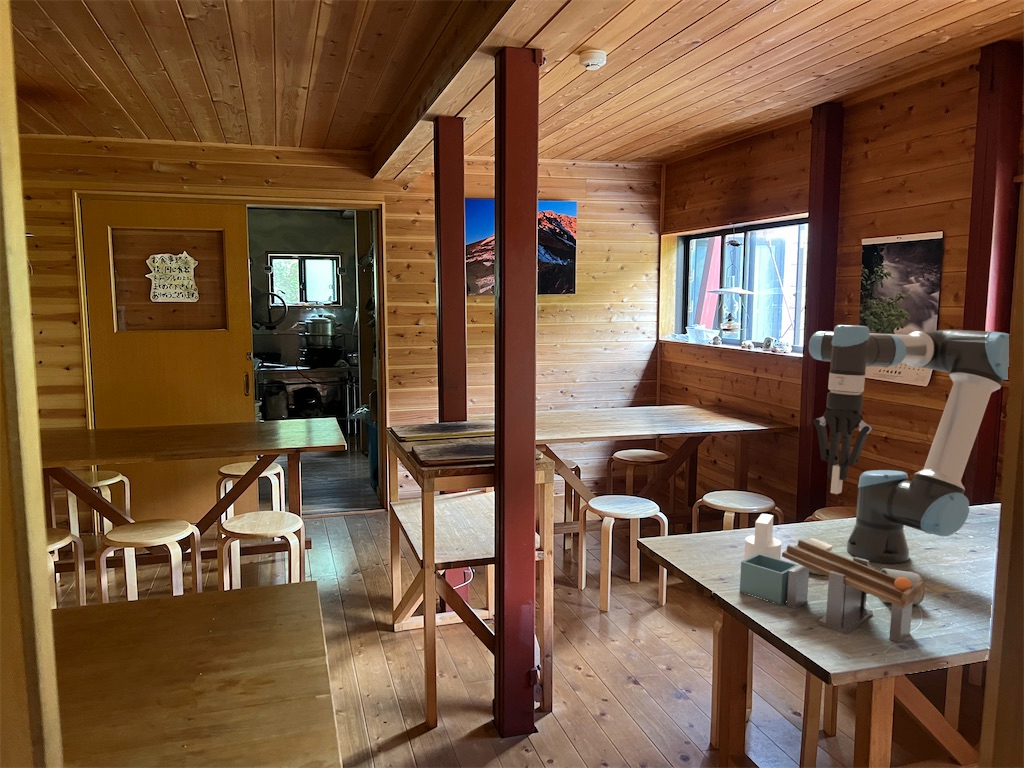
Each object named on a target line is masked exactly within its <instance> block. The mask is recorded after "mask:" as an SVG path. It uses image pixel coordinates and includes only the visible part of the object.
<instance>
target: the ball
mask: <svg viewBox="0 0 1024 768" xmlns="http://www.w3.org/2000/svg"><path fill="white" fill-rule="evenodd" d="M894 586H895V588H896V589H897V590H900V591H902V592H905V591H906V590H908V589H909V588H910V587H912V584H911V582H910V580H909V579H907V578H905V577H899V578H897V579H896V580H895V582H894Z"/></svg>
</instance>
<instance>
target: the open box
mask: <svg viewBox="0 0 1024 768" xmlns="http://www.w3.org/2000/svg"><path fill="white" fill-rule="evenodd" d="M740 562H741V563H740V576H739V578H740V579H739V593H741V592H743V593H742V594H744V593H746V594H745V595H747V594H750V595H753V596H756V597H759V598H762V599H765V600H768V601H770V602H769V603H771V602H774V603H776V604H775V605H777V604H779V605H778V606H780V605H781V606H782V604H783V603H784V604H786V603H787V602H786V601H787V592H788V577H789V570H791V569H793V568H794V567H796V566H798V565H799V564H798V563H795V562H794V563H793V562H790V561H787V560H786V561H785V560H783V559H781V558H780V559H776V558H773V557H769V556H766V555H762V554H759V553H758V554H756V555H754V556H752V557H750V558H748V559H746V560H741V561H740ZM750 595H749V596H750ZM753 596H752V597H753ZM756 597H755V598H756ZM759 598H758V599H759ZM762 599H761V600H762ZM765 600H764V601H765ZM768 601H767V602H768ZM785 602H786V603H785ZM774 603H773V604H774ZM784 604H783V605H784Z"/></svg>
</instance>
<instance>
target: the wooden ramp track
mask: <svg viewBox="0 0 1024 768" xmlns="http://www.w3.org/2000/svg"><path fill="white" fill-rule="evenodd" d="M833 547H834V546H833V545H832V544H830V543H827V542H825V541H821V540H819V539H816V538H814V537H811V538H808V539H805V540H803V539H798V542H797V545H795V546H793V545H791V544H787V547H786V549H785V550H784V551H783V552H782V551H781V558H782V557H783V558H784V559H786V560H789V561H792V563H793V562H794V563H795V564H797V565H799V564H800V565H803V566H805V567H807V568H810V569H812V570H815V571H817V572H819V573H822V574H824V575H823V576H826V577H829V572H830V571H833V572H837V573H840V574H844V575H846V578H845V584H847V585H850V586H852V587H854V588H857V589H859V590H861V591H864V592H866V593H867V594H869V595H871V596H874V597H876V598H878V599H879V600H881V599H882V600H885V601H887V602H889V603H888V604H891V605H892V604H894V605H896V606H899V607H901V608H905V607H906V606H907V605H909V604H910V603H911V602H912V601H914V600H915V599H916V598H917V597H919V596H920V595H921V592H922V588H923V584H924V585H925V581H924V580H923V581H924V582H923V581H921V580H919V581H918V582H917V583H916V584H914V585H912V587H910V588H909V589H908V590H906V591H905V592H902V591H900V590H897V589H896V588H895V586H894V582H895V580H896V579H897V578H895V577H892V576H890V575H887V574H885V573H882V572H880V571H881V570H877V569H874V568H872V567H867V566H865V565H862V564H860V563H857V562H855V561H853V559H850V558H847V557H844V556H842V555H840V554H837V553H836V552H833V551H832V550H833Z"/></svg>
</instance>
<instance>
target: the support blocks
mask: <svg viewBox="0 0 1024 768" xmlns="http://www.w3.org/2000/svg"><path fill="white" fill-rule="evenodd" d="M852 561H855V562H857V563H860V564H862V565H865V566H867V567H869V566H870V561H869V560H865V559H862V558H859V557H856V556H853V559H852ZM797 565H798V566H796V567H794V568H793V569H791V570H789V577H788V592H787V602H786V606H787V605H789V606H791V607H790V608H792V607H794V608H793V609H796V607H797V608H798V607H800V606H801V605H803V604H805V603H806V602H808V594H809V591H808V590H809V578H810V573H809V568H807V567H805V566H803V565H799V564H797ZM845 578H846V575H844V574H840V573H837V572H833V571H830V572H829V576H828V586H827V599H826V600H827V603H826V613H825V616H822V617H821V618H820V619H819V620H818V623H817V625H820V626H822V627H826V628H827V629H828V628H829V629H832V630H834V631H838V632H840V633H843V634H845V635H846V634H848V633H850V632H851V631H852V630H853V629H855V628H856V627H857V626H859V625H860V624H862V623H863V622H864V621H866V620H868V618H869V617H871V616H872V615H873V612H874V611H873V609H869V608H866V606H867V594H868V593H866V592H864V591H861V590H859V589H857V588H854V587H852V586H850V585H847V584H845ZM804 602H805V603H804ZM802 603H803V604H802ZM799 605H800V606H799ZM913 605H914V604H913V601H912V602H911V603H910V604H909V605H907V606H906V607H905V608H901V607H899V606H896V605H894V604H892V603H891V614H890V626H889V638H888V639H889V640H890V641H893V642H896V643H899V644H900V643H901V642H902V641H904V640H905V639H906V638H907V637H908V636H909V635H910V634H911V625H912V624H911V623H912V617H913V616H912V613H913ZM789 606H788V607H789Z"/></svg>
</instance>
